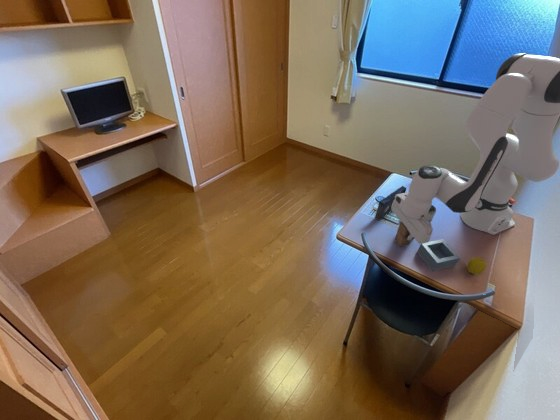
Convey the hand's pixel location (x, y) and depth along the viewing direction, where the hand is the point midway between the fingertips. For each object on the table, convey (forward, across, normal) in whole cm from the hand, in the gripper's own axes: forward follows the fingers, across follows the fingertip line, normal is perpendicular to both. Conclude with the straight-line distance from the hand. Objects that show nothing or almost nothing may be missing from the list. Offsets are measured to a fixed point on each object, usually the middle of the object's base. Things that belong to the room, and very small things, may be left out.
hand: (404, 233), depth 112 cm
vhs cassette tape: (+8, +22, -7) cm, 24 cm away
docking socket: (+8, -9, -11) cm, 16 cm away
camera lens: (+8, +12, -20) cm, 24 cm away
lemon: (+8, -18, -20) cm, 28 cm away
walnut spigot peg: (+5, 0, 0) cm, 5 cm away
